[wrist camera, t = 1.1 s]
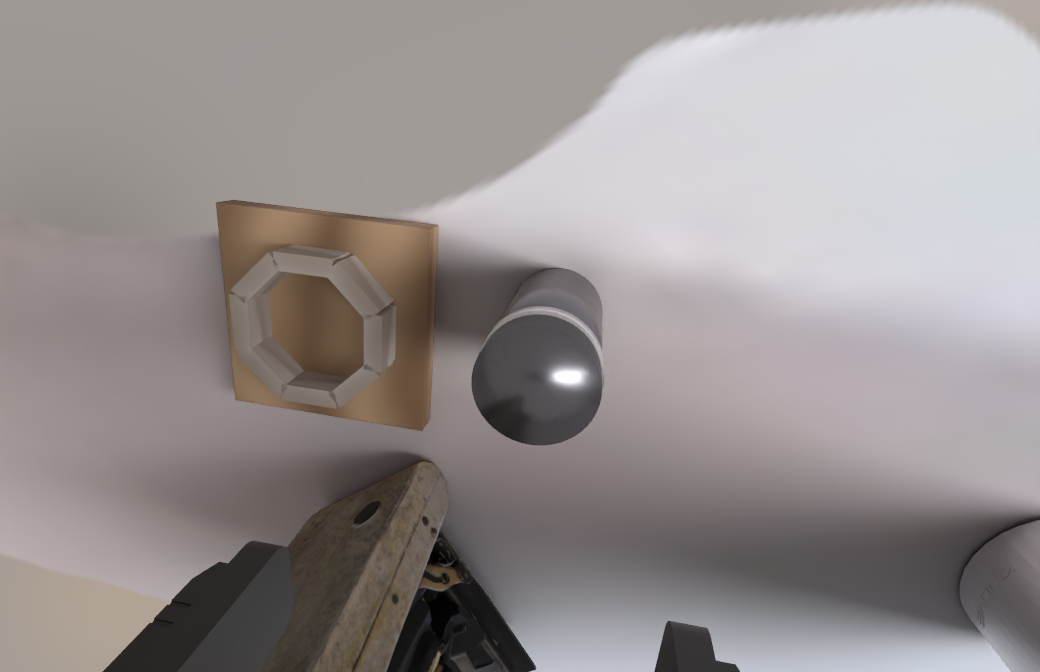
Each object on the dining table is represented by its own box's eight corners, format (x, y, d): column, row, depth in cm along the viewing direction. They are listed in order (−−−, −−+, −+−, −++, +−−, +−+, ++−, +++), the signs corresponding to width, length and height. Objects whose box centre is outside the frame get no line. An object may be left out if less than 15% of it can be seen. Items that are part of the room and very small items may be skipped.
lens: (610, 273, 28) (614, 333, 19) (596, 361, 30) (593, 457, 21) (515, 260, 29) (473, 313, 20) (507, 348, 31) (464, 436, 21)
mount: (438, 225, 29) (417, 234, 26) (429, 418, 33) (410, 448, 30) (234, 200, 30) (189, 206, 27) (250, 389, 34) (213, 414, 31)
